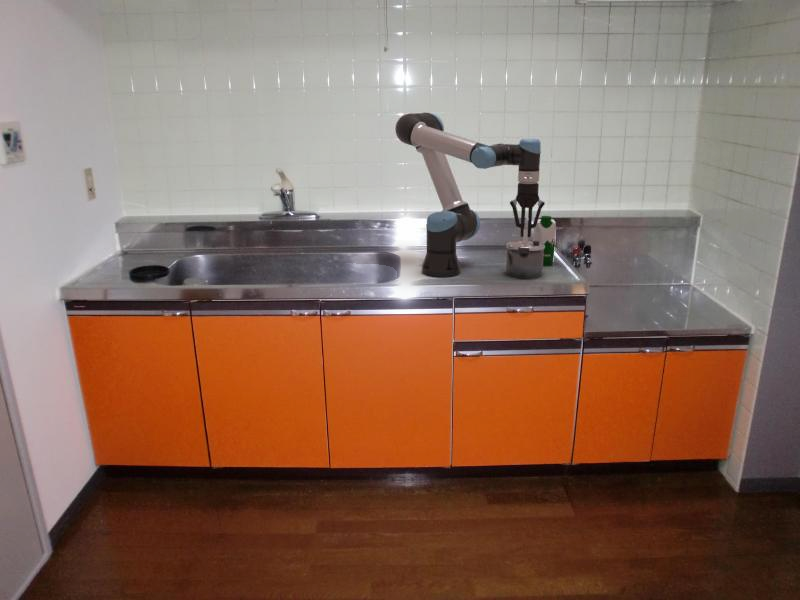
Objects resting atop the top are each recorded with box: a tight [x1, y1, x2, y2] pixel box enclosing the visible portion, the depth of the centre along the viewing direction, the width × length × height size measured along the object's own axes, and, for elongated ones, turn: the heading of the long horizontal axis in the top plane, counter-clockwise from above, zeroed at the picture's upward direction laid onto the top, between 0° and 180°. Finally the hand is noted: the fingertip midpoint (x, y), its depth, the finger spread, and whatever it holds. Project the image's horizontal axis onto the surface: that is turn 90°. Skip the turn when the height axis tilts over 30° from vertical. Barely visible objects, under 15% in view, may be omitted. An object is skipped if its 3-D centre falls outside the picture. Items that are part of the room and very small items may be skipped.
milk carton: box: [532, 215, 557, 266], centre depth 253 cm, size 9×9×20 cm
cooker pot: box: [505, 247, 544, 280], centre depth 240 cm, size 14×15×10 cm
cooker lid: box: [506, 240, 545, 252], centre depth 236 cm, size 15×16×3 cm
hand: (525, 245), depth 233 cm, fingers closed
